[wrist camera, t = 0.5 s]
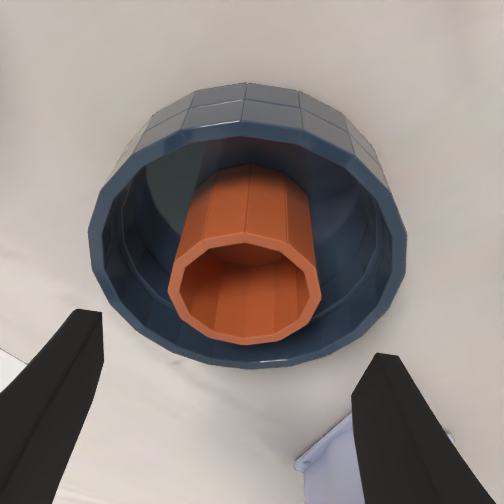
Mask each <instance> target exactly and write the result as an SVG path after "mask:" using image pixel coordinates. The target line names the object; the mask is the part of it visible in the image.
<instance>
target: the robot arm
mask: <svg viewBox="0 0 504 504" xmlns="http://www.w3.org/2000/svg"><path fill="white" fill-rule="evenodd" d="M103 363H104V349H103V326H102V312H97V311H90V310H83V309H76V310H74V311H73V312H72V313H71V314H70V316H69V317H68V318H67V319H66V321H65V322H64V323H63V325H62V326H61V327H60V328H59V329H58V331H57V332H56V333H55V334H54V335H53V337H52V338H51V339H50V340H49V341H48V343H47V344H46V345H45V346H44V347H43V348H42V349H41V351H40V352H39V353H38V354H37V355H36V356H35V357H34V358H33V359H32V360H31V362H30V363H29V364H28V365H27V366H26V367H25V368H24V369H23V370H22V371H21V372H20V373H19V374H18V376H17V377H16V378H15V379H14V380H13V381H12V382H11V383H10V384H9V385H8V386H7V387H6V388H5V389H4V390H3V391H2V392H1V393H0V504H52V502H53V499H54V497H55V494H56V491H57V488H58V486H59V483H60V481H61V478H62V476H63V473H64V471H65V468H66V466H67V463H68V461H69V458H70V456H71V453H72V451H73V449H74V446H75V444H76V441H77V439H78V436H79V434H80V431H81V429H82V426H83V424H84V421H85V419H86V416H87V414H88V411H89V409H90V406H91V404H92V401H93V398H94V395H95V392H96V388H97V385H98V381H99V378H100V374H101V370H102V367H103ZM351 403H352V413H350V414H349V415H348V416H347V417H346V418H345V419H344V420H342V421H341V422H340V423H339V424H338V425H337V426H335V427H334V428H333V429H332V430H331V431H330V432H329V433H327V434H326V435H325V436H324V437H323V438H322V439H320V440H319V441H318V442H317V443H316V444H315V445H313V446H312V447H311V448H310V449H309V450H308V451H307V452H305V453H304V454H303V455H302V456H301V457H300V458H298V459H297V460H296V461H295V462H294V463H293V466H294V469H295V470H297V471H300V472H303V473H304V491H305V504H496V503H495V502H494V500H493V499H492V498H491V497H490V495H489V494H488V493H487V491H486V490H485V489H484V487H483V486H482V485H481V483H480V482H479V481H478V479H477V478H476V477H475V475H474V474H473V472H472V471H471V469H470V468H469V467H468V465H467V464H466V462H465V461H464V460H463V458H462V457H461V455H460V454H459V452H458V451H457V449H456V448H455V446H454V445H453V443H454V438H453V436H452V435H450V434H447V433H445V431H444V430H443V428H442V426H441V425H440V423H439V422H438V420H437V419H436V417H435V416H434V414H433V412H432V411H431V409H430V408H429V406H428V404H427V403H426V401H425V399H424V398H423V396H422V394H421V393H420V391H419V389H418V388H417V386H416V384H415V383H414V381H413V379H412V378H411V376H410V374H409V373H408V371H407V369H406V368H405V366H404V364H403V363H402V361H401V360H400V358H399V356H396V355H389V354H382V353H376V354H375V356H374V357H373V359H372V361H371V362H370V364H369V366H368V368H367V369H366V371H365V373H364V374H363V376H362V378H361V379H360V381H359V383H358V384H357V386H356V388H355V390H354V391H353V393H352V395H351Z"/></svg>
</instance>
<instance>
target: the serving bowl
mask: <svg viewBox="0 0 504 504" xmlns="http://www.w3.org/2000/svg"><path fill="white" fill-rule="evenodd" d="M249 163H251V164H252V163H253V164H257V165H260V166H264V167H267V168H271V169H274V170H278V171H282V172H284V173H286V174H287V175H288V176H289V177H290V178H291V179H292V180H293V181H294V182H295V183H296V184H297V185H298V186H299V187H300V188H301V189H302V190H303V191H304V192H305V193H306V194H307V196H308V197H309V202H310V207H311V212H312V217H313V223H314V232H315V241H316V249H317V258H318V267H319V276H320V284H321V293H322V297H321V301H320V302H319V304H318V306H317V308H316V310H315V312H314V313H313V315H312V317H311V319H310V321H309V323H308V324H307V325H306V326H304V327H302V328H300V329H299V330H297V331H295V332H294V333H292V334H290V335H289V336H287V337H285V338H283V339H282V340H279V341H275V342H267V343H259V344H252V345H239V344H235V343H230V342H226V341H221V340H216V339H212V338H209V337H207V336H205V335H204V334H202V333H201V332H199V331H198V330H196V329H195V328H194V327H192V326H191V325H189V324H188V323H186V322H185V321H183V320H182V319H181V318H180V316H179V314H178V312H177V310H176V308H175V306H174V304H173V302H172V300H171V298H170V296H169V294H168V290H167V289H168V285H169V281H170V276H171V272H172V268H173V263H174V260H175V256H176V253H177V249H178V246H179V242H180V238H181V235H182V231H183V228H184V224H185V221H186V217H187V214H188V210H189V207H190V203H191V200H192V196H193V192H194V191H195V189H197V188H198V187H199V186H200V185H201V184H202V183H203V182H204V181H206V180H207V179H208V178H209V177H210V176H211V175H212V174H213V173H215V172H216V171H218V170H220V169H225V168H230V167H235V166H240V165H244V164H249ZM88 239H89V248H90V257H91V266H92V271H93V273H94V275H95V277H96V279H97V281H98V283H99V284H100V286H101V288H102V290H103V292H104V294H105V296H106V298H107V300H108V302H109V303H110V305H111V306H112V307H113V308H114V309H115V310H116V311H117V312H118V313H119V314H120V315H121V316H122V317H123V318H124V319H125V320H126V321H127V322H128V323H129V324H130V325H131V326H132V327H133V328H134V329H135V330H136V331H138V333H140V334H142V335H143V336H145V337H147V338H148V339H150V340H152V341H153V342H155V343H157V344H159V345H160V346H162V347H164V348H165V349H167V350H169V351H171V352H172V353H175V354H178V355H181V356H184V357H187V358H190V359H193V360H196V361H199V362H202V363H205V364H208V365H209V364H210V365H215V366H223V367H231V368H240V369H250V370H252V369H266V368H279V367H289V366H294V365H297V364H301V363H304V362H308V361H311V360H315V359H318V358H321V357H325V356H327V355H330V354H332V353H333V352H335V351H337V350H339V349H340V348H342V347H344V346H346V345H348V344H349V343H351V342H353V341H355V340H356V339H358V338H360V337H361V336H363V335H364V334H365V333H366V332H367V331H368V330H369V329H370V328H371V327H372V326H373V325H374V324H375V323H376V322H377V321H378V320H379V319H380V318H381V317H382V315H383V314H384V313H385V312H386V311H387V310H388V309H389V308H390V305H391V303H392V301H393V299H394V297H395V295H396V293H397V291H398V289H399V286H400V284H401V282H402V280H403V278H404V276H405V273H406V251H407V232H406V229H405V227H404V224H403V221H402V219H401V216H400V214H399V211H398V209H397V206H396V203H395V201H394V198H393V196H392V193H391V191H390V188H389V186H388V183H387V180H386V178H385V175H384V173H383V170H382V168H381V165H380V163H379V160H378V157H377V155H376V152H375V150H374V148H373V147H372V145H371V144H370V143H369V142H368V140H367V139H366V138H365V137H364V136H363V135H362V134H361V133H360V132H359V131H358V130H357V129H356V127H355V126H354V125H353V124H352V123H351V122H350V121H349V120H348V119H347V118H346V117H345V116H344V115H343V114H342V113H341V112H339V111H337V110H336V109H334V108H332V107H330V106H328V105H326V104H324V103H322V102H320V101H318V100H316V99H315V98H313V97H311V96H309V95H307V94H305V93H303V92H301V91H296V90H292V89H285V88H279V87H273V86H266V85H260V84H254V83H248V84H247V83H239V84H233V85H227V86H221V87H215V88H209V89H203V90H198V91H195V92H193V93H191V94H189V95H187V96H186V97H184V98H182V99H180V100H178V101H176V102H175V103H173V104H171V105H169V106H167V107H165V108H164V109H162V110H160V111H158V112H156V113H155V114H154V115H153V116H152V117H151V118H150V120H149V121H148V122H147V123H146V124H145V125H144V127H143V128H142V129H141V130H140V131H139V132H138V134H137V135H136V136H135V137H134V138H133V139H132V141H131V142H130V143H129V144H128V145H127V147H126V149H125V150H124V152H123V154H122V155H121V157H120V159H119V160H118V162H117V164H116V165H115V167H114V169H113V170H112V172H111V174H110V175H109V177H108V178H107V180H106V182H105V183H104V185H103V187H102V188H101V190H100V192H99V195H98V199H97V202H96V205H95V208H94V211H93V214H92V218H91V221H90V224H89V227H88Z"/></svg>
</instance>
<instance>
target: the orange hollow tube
mask: <svg viewBox="0 0 504 504" xmlns="http://www.w3.org/2000/svg"><path fill="white" fill-rule="evenodd" d="M167 290H168V294H169V296H170V298H171V300H172V302H173V304H174V306H175V308H176V310H177V312H178V314H179V316H180V318H181V319H182V320H183V321H185V322H186V323H188V324H189V325H191V326H192V327H194V328H195V329H196V330H198V331H199V332H201V333H202V334H204V335H205V336H207V337H209V338H212V339H216V340H221V341H226V342H230V343H235V344H239V345H252V344H259V343H267V342H275V341H279V340H282V339H283V338H285V337H287V336H289V335H290V334H292V333H294V332H295V331H297V330H299V329H300V328H302V327H304V326H306V325H307V324H308V323H309V321H310V319H311V317H312V315H313V313H314V312H315V310H316V308H317V306H318V304H319V302H320V301H321V297H322V293H321V284H320V276H319V267H318V258H317V249H316V241H315V232H314V223H313V217H312V212H311V207H310V202H309V197H308V196H307V194H306V193H305V192H304V191H303V190H302V189H301V188H300V187H299V186H298V185H297V184H296V183H295V182H294V181H293V180H292V179H291V178H290V177H289V176H288V175H287V174H286V173H284V172H282V171H278V170H274V169H271V168H267V167H264V166H260V165H257V164H253V163H252V164H251V163H249V164H244V165H240V166H235V167H230V168H225V169H220V170H218V171H216V172H215V173H213V174H212V175H211V176H210V177H209V178H208V179H207V180H206V181H204V182H203V183H202V184H201V185H200V186H199V187H198V188H197V189H195V191H194V192H193V196H192V200H191V203H190V207H189V210H188V214H187V217H186V221H185V224H184V228H183V231H182V235H181V238H180V242H179V246H178V249H177V253H176V256H175V260H174V263H173V268H172V272H171V276H170V281H169V285H168V289H167Z"/></svg>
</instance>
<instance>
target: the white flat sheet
mask: <svg viewBox="0 0 504 504" xmlns="http://www.w3.org/2000/svg"><path fill="white" fill-rule="evenodd" d="M26 366H27V364H25V363H23V362H22V361H20V360H18V359H16V358H15V357H13V356H11V355H9V354H8V353H6V352H4V351H3V350H1V349H0V393H1V392H2V391H3V390H4V389H5V388H6V387H7V386H8V385H9V384H10V383H11V382H12V381H13V380H14V379H15V378H16V377H17V376H18V374H19V373H20V372H21V371H22V370H23V369H24V368H25V367H26Z"/></svg>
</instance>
